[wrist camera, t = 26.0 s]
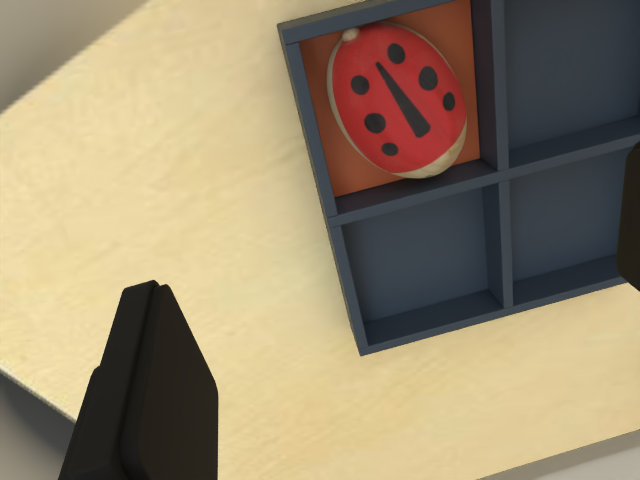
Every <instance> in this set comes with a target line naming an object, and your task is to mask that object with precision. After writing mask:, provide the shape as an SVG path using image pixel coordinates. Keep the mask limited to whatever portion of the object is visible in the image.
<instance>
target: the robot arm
mask: <svg viewBox="0 0 640 480" xmlns="http://www.w3.org/2000/svg"><path fill="white" fill-rule="evenodd" d="M616 267H617V270H618V272H619V274H620V275H621V277H622V278H623V279H624V280H626V281H627V282H628V283H630V284H631V285H632V286H633V287H635V288H636V289H637V290H638V291H640V141H639V142H637V143H636V144H635V145H634V147H633V149H632V151H631V152H629V153H628V155H627V158H626V164H625V174H624V184H623V194H622V204H621V214H620V224H619V234H618V244H617V254H616ZM217 478H218V390H217V386H216V383H215V380H214V378H213V376H212V374H211V372H210V370H209V367H208V365H207V363H206V361H205V359H204V357H203V355H202V353H201V351H200V349H199V347H198V344H197V342H196V340H195V338H194V336H193V334H192V332H191V330H190V328H189V326H188V324H187V321H186V319H185V317H184V315H183V313H182V311H181V309H180V307H179V305H178V303H177V301H176V298H175V296H174V294H173V292H172V290H171V288H170V287H169V286H168V285H167V284H165V285H161V286H160V285H159V284H158V283H157V282H156V281H155V280H151V281H148V282H144V283H141V284H137V285H134V286H130V287H127V288H125V289H124V290H123V292H122V295H121V298H120V301H119V305H118V308H117V311H116V314H115V318H114V321H113V324H112V327H111V331H110V334H109V337H108V341H107V344H106V347H105V350H104V354H103V357H102V360H101V363H100V366H98V367H97V368H95V369H94V371H93V373H92V375H91V378H90V381H89V384H88V387H87V390H86V393H85V397H84V400H83V403H82V406H81V409H80V412H79V415H78V418H77V422H76V425H75V428H74V431H73V434H72V437H71V441H70V444H69V447H68V450H67V453H66V456H65V460H64V463H63V465H62V469H61V472H60V475H59V478H58V480H217ZM477 480H640V429H639V430H636V431H633V432H629V433H626V434H623V435H620V436H616V437H613V438H610V439H607V440H603V441H600V442H597V443H594V444H590V445H587V446H584V447H580V448H577V449H574V450H571V451H567V452H564V453H561V454H558V455H554V456H551V457H548V458H545V459H541V460H538V461H535V462H532V463H528V464H525V465H522V466H519V467H515V468H512V469H509V470H506V471H503V472H499V473H496V474H493V475H490V476H487V477H483V478H480V479H477Z"/></svg>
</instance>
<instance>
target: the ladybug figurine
mask: <svg viewBox="0 0 640 480" xmlns="http://www.w3.org/2000/svg"><path fill="white" fill-rule="evenodd" d="M327 92H328V98H329V102H330V105H331V109H332V112H333V114H334V117H335V119H336V121H337V123H338V125H339V127H340V129H341V130H342V132H343V134H344V135H345V137H346V138H347V140H348V141H349V142H350V144H351V145H352V146H353V147H354V148H355V149H356V150H357V151H358V152H359V153H360V154H361V155H362V156H363V157H364V158H365V159H367V160H368V161H369V162H371V163H372V164H373V165H375V166H377V167H378V168H380V169H382V170H384V171H386V172H389V173H391V174H394V175H397V176H401V177H407V178H426V177H431V176H435V175H437V174H440V173H441V172H443V171H445V170H446V169H447V168H449V167H450V166H451V165H452V164H453V163H454V161H455V160H456V159H457V157H458V156H459V154H460V152H461V150H462V147H463V145H464V141H465V137H466V129H467V114H466V106H465V101H464V97H463V93H462V90H461V88H460V85H459V83H458V81H457V78H456V76H455V75H454V73H453V71H452V69H451V67H450V66H449V64H448V63H447V61H446V60H445V58H444V57H443V56H442V54H441V53H440V52H439V51H438V50H437V48H436V47H435V46H434V45H433V44H432V43H430V42H429V41H428V40H427V39H426V38H425V37H423V36H422V35H421V34H419V33H418V32H416V31H414V30H412V29H410V28H408V27H406V26H403V25H400V24H397V23H393V22H388V21H376V22H372V23H369V24H365V25H361V26H357V27H353V28H349V29H346V30H344V31H343V33H342V38H341V39H340V40H339V41H338V42H337V44H336V45H335V47H334V49H333V51H332V53H331V56H330V59H329V62H328V68H327Z"/></svg>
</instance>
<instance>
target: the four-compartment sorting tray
mask: <svg viewBox="0 0 640 480" xmlns="http://www.w3.org/2000/svg"><path fill="white" fill-rule="evenodd" d="M376 21H388V22H393V23H397V24H400V25H403V26H406V27H408V28H410V29H412V30H414V31H416V32H418V33H419V34H421V35H422V36H423V37H425V38H426V39H427V40H428V41H429V42H430V43H432V44H433V45H434V46H435V47H436V48H437V50H438V51H439V52H440V53H441V54H442V56H443V57H444V58H445V60H446V61H447V63H448V64H449V66H450V67H451V69H452V71H453V73H454V75H455V76H456V78H457V81H458V83H459V85H460V88H461V90H462V93H463V97H464V101H465V106H466V114H467V129H466V137H465V141H464V145H463V147H462V150H461V152H460V154H459V156H458V157H457V159H456V160H455V161H454V163H453V164H452V165H451V166H450V167H449V168H447V169H446V170H445V171H443V172H441V173H440V174H437V175H435V176H431V177H426V178H407V177H401V176H397V175H394V174H391V173H389V172H386V171H384V170H382V169H380V168H378V167H377V166H375V165H373V164H372V163H371V162H369V161H368V160H367V159H365V158H364V157H363V156H362V155H361V154H360V153H359V152H358V151H357V150H356V149H355V148H354V147H353V146H352V145H351V144H350V142H349V141H348V140H347V138H346V137H345V135H344V134H343V132H342V130H341V129H340V127H339V125H338V123H337V121H336V119H335V117H334V114H333V112H332V109H331V105H330V102H329V98H328V92H327V68H328V62H329V59H330V56H331V53H332V51H333V49H334V47H335V45H336V44H337V42H338V41H339V40H340V39H341V38H342V33H343V31H344V30H346V29H349V28H353V27H357V26H361V25H365V24H369V23H372V22H376ZM277 28H278V32H279V37H280V41H281V45H282V49H283V53H284V57H285V61H286V65H287V69H288V73H289V77H290V81H291V85H292V89H293V93H294V97H295V102H296V106H297V110H298V114H299V118H300V122H301V126H302V130H303V134H304V138H305V142H306V146H307V150H308V154H309V158H310V163H311V167H312V171H313V175H314V179H315V183H316V187H317V191H318V195H319V199H320V203H321V207H322V211H323V215H324V219H325V224H326V228H327V232H328V236H329V240H330V244H331V248H332V252H333V256H334V260H335V264H336V268H337V272H338V276H339V280H340V285H341V289H342V293H343V297H344V301H345V305H346V309H347V313H348V317H349V321H350V325H351V329H352V332H353V335H354V338H355V341H356V344H357V348H358V351H359V354H360V356H364V355H368V354H372V353H375V352H379V351H382V350H386V349H390V348H393V347H397V346H400V345H404V344H408V343H411V342H415V341H418V340H422V339H426V338H429V337H433V336H436V335H440V334H444V333H447V332H451V331H454V330H458V329H462V328H465V327H469V326H472V325H476V324H480V323H483V322H487V321H490V320H494V319H498V318H501V317H505V316H508V315H512V314H516V313H519V312H523V311H526V310H530V309H534V308H537V307H541V306H544V305H548V304H552V303H555V302H559V301H562V300H566V299H570V298H573V297H577V296H580V295H584V294H588V293H591V292H595V291H598V290H602V289H606V288H609V287H613V286H616V285H620V284H624V283H627V281H626V280H624V279H623V278H622V277H621V275H620V274H619V272H618V270H617V267H616V254H617V244H618V234H619V224H620V214H621V204H622V194H623V184H624V174H625V164H626V158H627V155H628V153H629V152H631V151H632V149H633V147H634V145H635V144H636V143H637V142H639V141H640V0H367V1H364V2H360V3H356V4H352V5H348V6H344V7H341V8H337V9H333V10H329V11H325V12H321V13H317V14H314V15H310V16H306V17H302V18H298V19H294V20H291V21H287V22H283V23H279V24H277Z"/></svg>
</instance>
